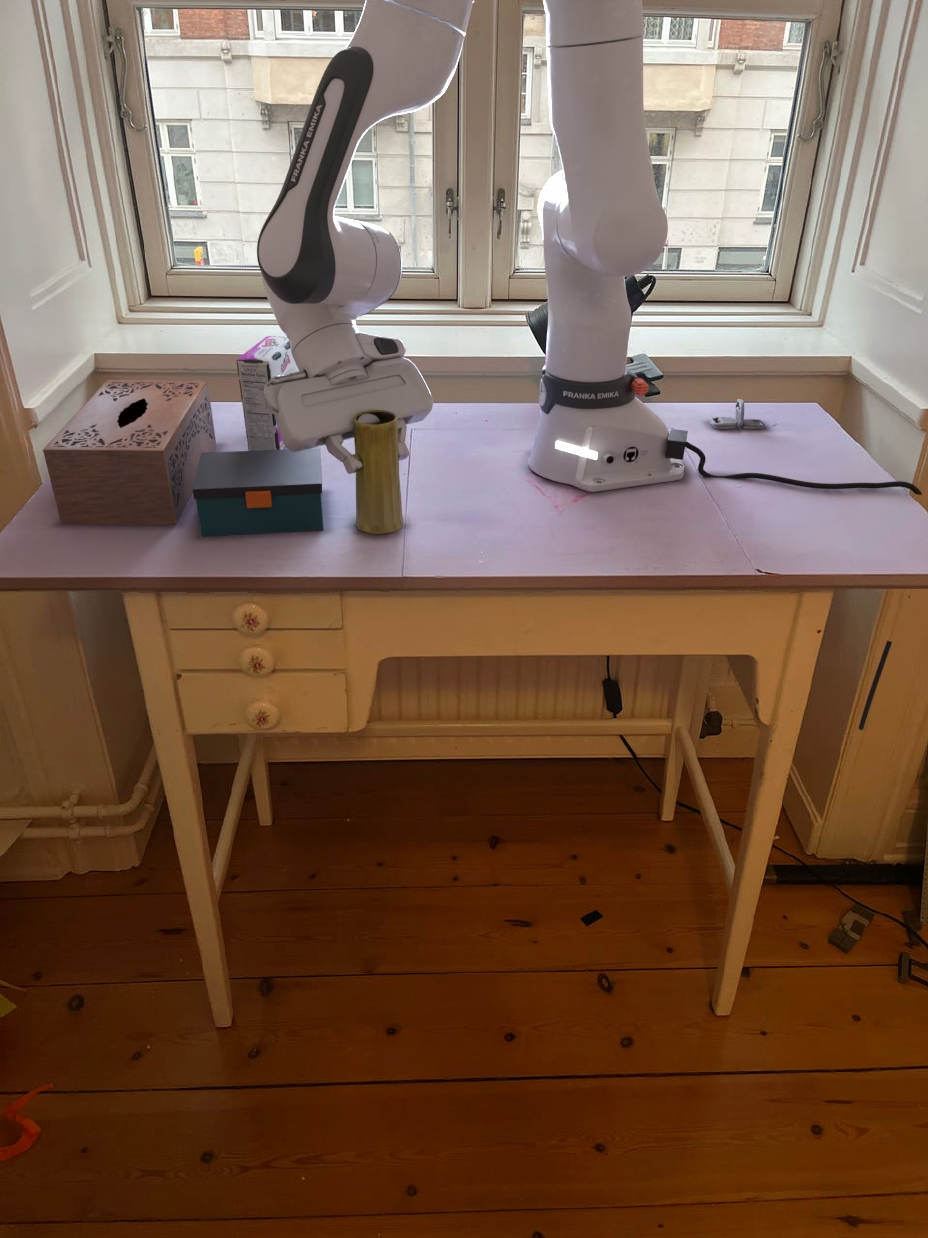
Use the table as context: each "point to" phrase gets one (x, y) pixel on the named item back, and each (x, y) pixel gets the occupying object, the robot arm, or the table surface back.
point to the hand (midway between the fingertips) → (380, 464)
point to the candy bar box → (253, 376)
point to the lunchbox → (259, 492)
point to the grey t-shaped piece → (739, 416)
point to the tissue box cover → (131, 453)
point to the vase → (378, 474)
